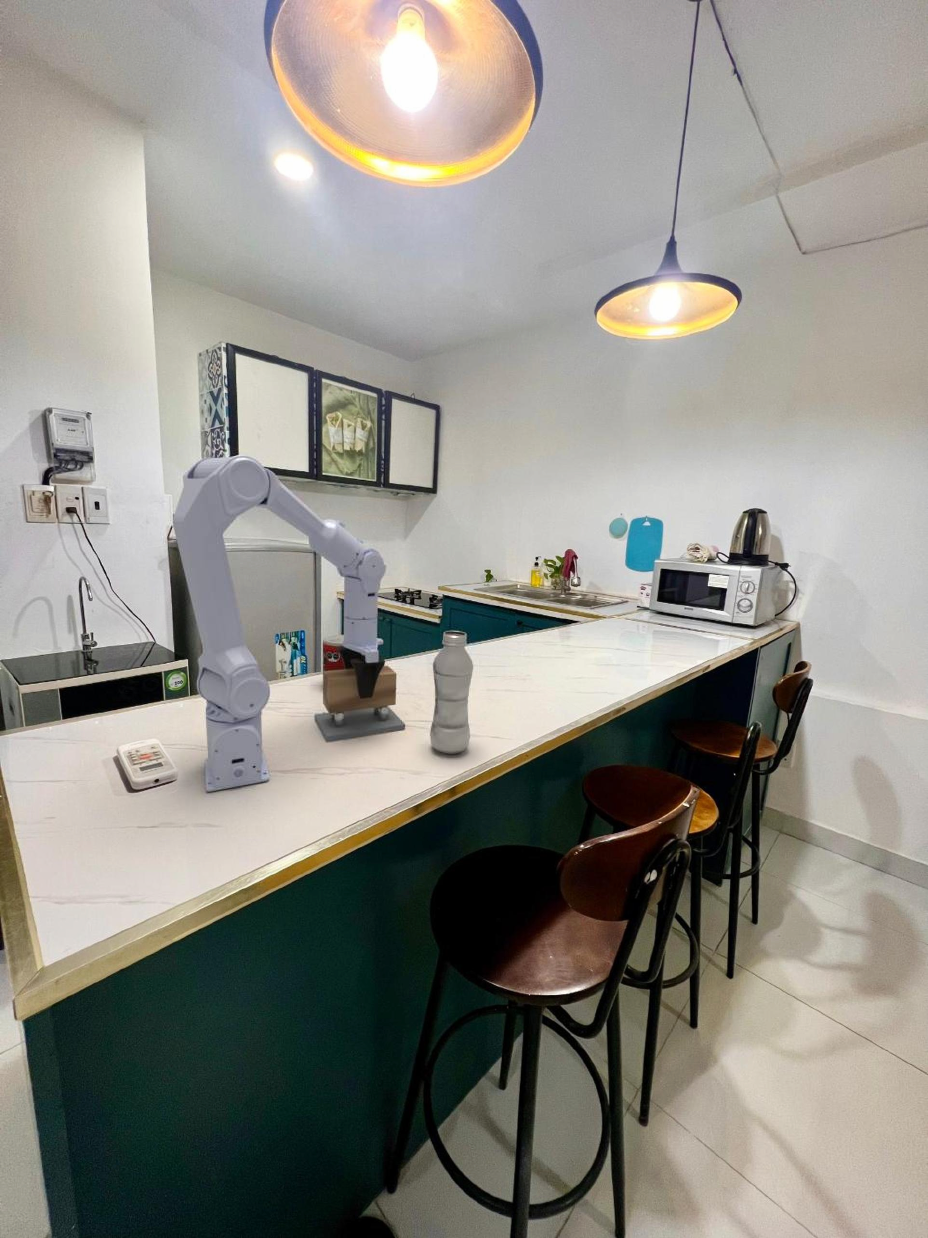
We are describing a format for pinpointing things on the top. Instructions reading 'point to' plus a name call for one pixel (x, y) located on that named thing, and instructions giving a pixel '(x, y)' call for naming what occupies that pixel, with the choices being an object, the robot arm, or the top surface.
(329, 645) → the canned food
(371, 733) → the peg stand
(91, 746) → the top surface
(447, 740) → the plastic bottle
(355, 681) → the shelf block
